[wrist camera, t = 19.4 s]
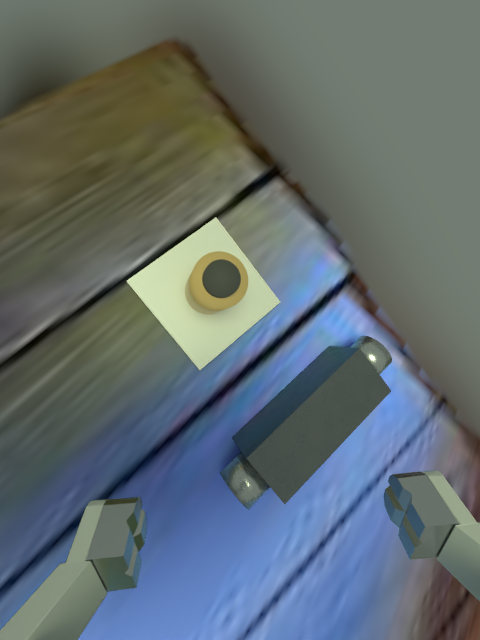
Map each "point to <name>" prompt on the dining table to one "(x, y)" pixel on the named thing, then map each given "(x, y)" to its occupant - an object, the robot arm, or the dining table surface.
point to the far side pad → (174, 310)
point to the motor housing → (307, 421)
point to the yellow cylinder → (216, 283)
